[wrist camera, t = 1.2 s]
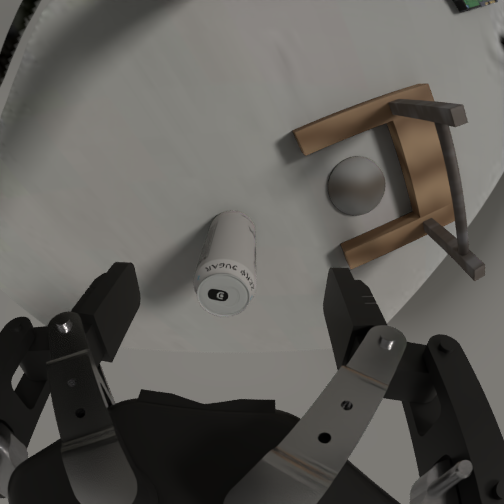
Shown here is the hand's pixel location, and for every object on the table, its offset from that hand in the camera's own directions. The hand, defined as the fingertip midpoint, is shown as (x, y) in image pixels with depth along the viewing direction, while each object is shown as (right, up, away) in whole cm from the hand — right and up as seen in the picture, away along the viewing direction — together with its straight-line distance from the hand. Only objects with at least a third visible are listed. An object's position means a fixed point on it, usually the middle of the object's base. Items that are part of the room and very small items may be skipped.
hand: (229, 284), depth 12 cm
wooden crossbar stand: (+18, +12, +24) cm, 32 cm away
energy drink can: (-2, +4, +28) cm, 29 cm away
